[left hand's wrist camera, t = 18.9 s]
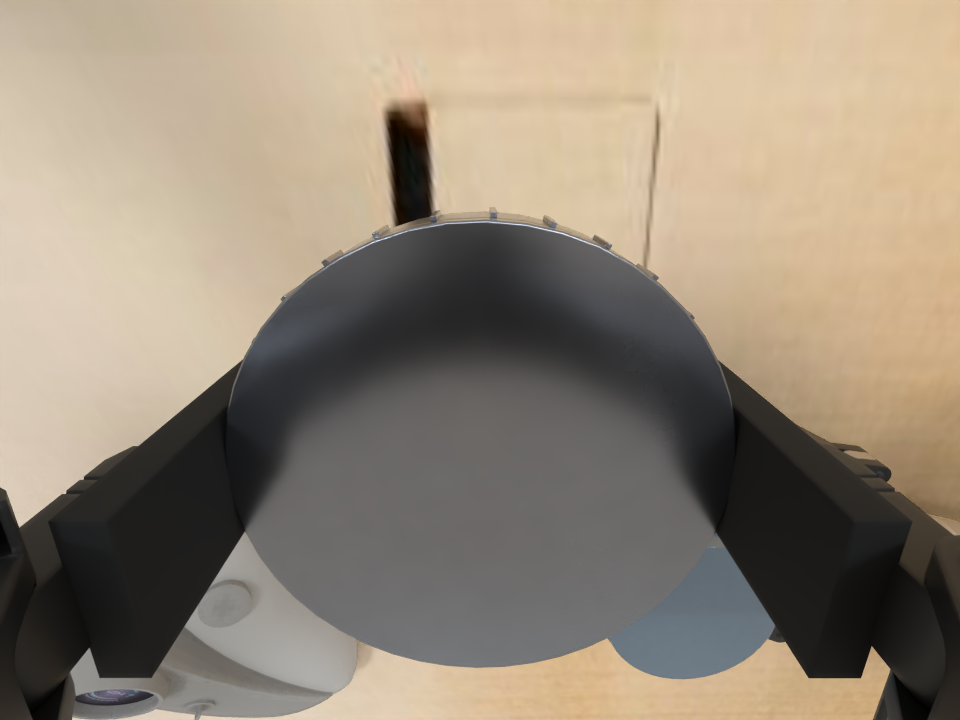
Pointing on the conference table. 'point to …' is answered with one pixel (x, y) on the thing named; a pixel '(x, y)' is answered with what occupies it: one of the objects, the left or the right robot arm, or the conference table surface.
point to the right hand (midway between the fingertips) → (569, 490)
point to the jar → (699, 623)
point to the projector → (232, 655)
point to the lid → (480, 441)
